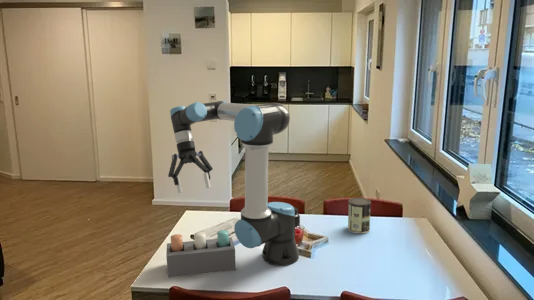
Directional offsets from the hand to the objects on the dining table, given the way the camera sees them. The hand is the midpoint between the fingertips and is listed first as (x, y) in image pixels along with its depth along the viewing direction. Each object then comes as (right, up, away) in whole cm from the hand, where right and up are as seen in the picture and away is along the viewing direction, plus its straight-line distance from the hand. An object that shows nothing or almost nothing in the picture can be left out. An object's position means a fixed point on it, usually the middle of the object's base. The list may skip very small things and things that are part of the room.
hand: (194, 190), depth 193 cm
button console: (+5, -29, -14) cm, 33 cm away
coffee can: (+74, -21, +20) cm, 80 cm away
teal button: (+14, -21, -14) cm, 29 cm away
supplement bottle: (+43, -22, +17) cm, 51 cm away
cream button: (+5, -22, -16) cm, 27 cm away
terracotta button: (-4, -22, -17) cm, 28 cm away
